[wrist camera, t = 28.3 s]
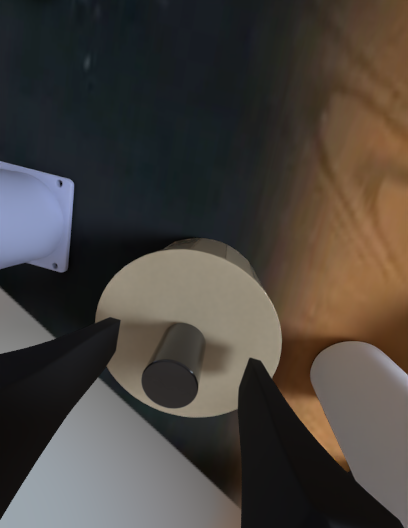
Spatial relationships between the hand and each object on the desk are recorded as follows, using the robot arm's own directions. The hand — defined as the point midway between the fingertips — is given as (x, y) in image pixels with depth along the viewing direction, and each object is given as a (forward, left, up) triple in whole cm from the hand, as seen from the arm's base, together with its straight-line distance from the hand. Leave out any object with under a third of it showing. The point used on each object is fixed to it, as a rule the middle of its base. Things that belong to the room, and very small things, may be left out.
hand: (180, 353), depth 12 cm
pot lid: (0, 0, -2) cm, 2 cm away
